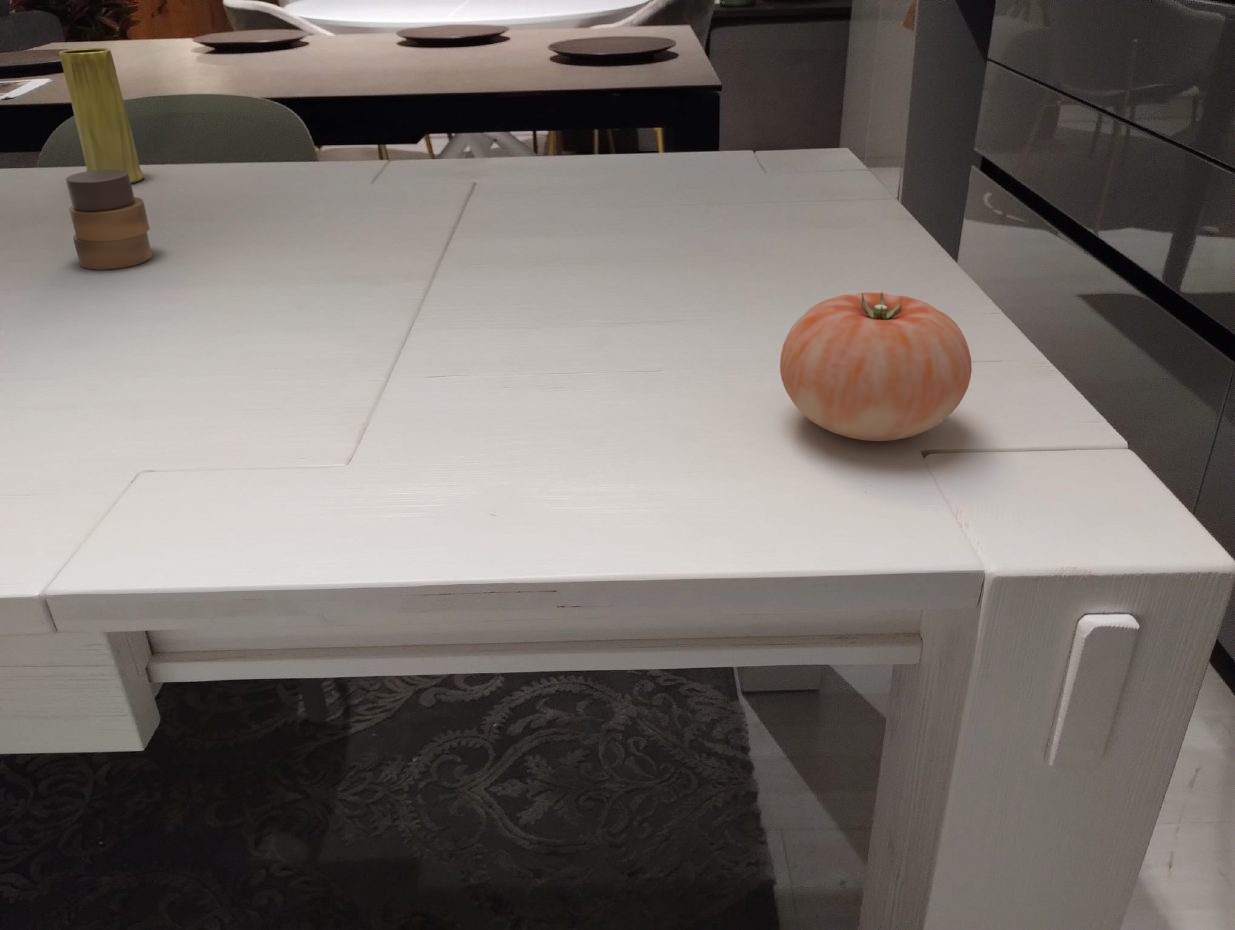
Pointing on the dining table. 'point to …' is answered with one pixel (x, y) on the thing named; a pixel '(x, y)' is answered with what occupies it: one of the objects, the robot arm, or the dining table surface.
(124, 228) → the pile chip top
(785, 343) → the tomato
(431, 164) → the dining table surface
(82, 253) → the pile chip bottom
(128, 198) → the walnut chip
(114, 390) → the dining table surface
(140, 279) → the dining table surface
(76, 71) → the vase
